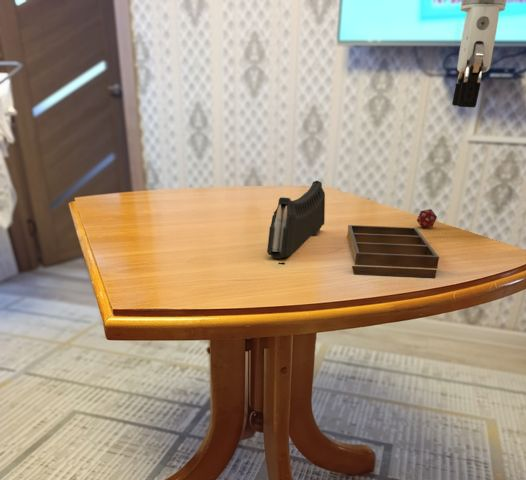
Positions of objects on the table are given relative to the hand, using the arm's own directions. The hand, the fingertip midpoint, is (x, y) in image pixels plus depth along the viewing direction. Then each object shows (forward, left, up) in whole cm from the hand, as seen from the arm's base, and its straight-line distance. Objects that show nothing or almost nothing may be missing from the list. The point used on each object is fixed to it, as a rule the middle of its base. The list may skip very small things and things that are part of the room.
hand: (463, 106), depth 99 cm
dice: (+2, -4, -25) cm, 26 cm away
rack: (+14, +22, -25) cm, 36 cm away
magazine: (+30, +17, -25) cm, 43 cm away
